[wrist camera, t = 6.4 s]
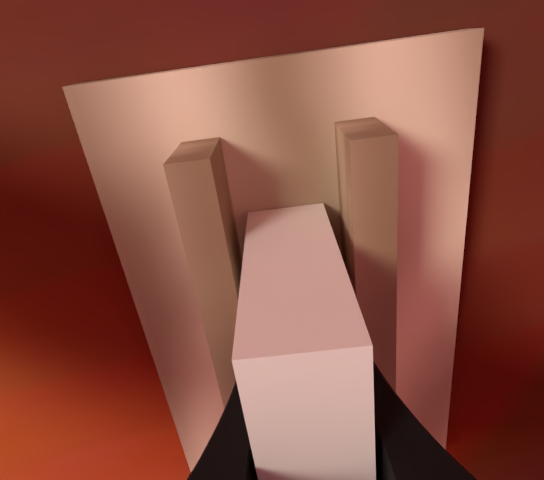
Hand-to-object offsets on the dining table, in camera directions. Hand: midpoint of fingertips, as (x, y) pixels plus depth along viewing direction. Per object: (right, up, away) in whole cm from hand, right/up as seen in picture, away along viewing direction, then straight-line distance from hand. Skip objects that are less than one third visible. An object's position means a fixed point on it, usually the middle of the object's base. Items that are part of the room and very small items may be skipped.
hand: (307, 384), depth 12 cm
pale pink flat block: (0, +1, +3) cm, 3 cm away
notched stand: (0, +2, +4) cm, 4 cm away
